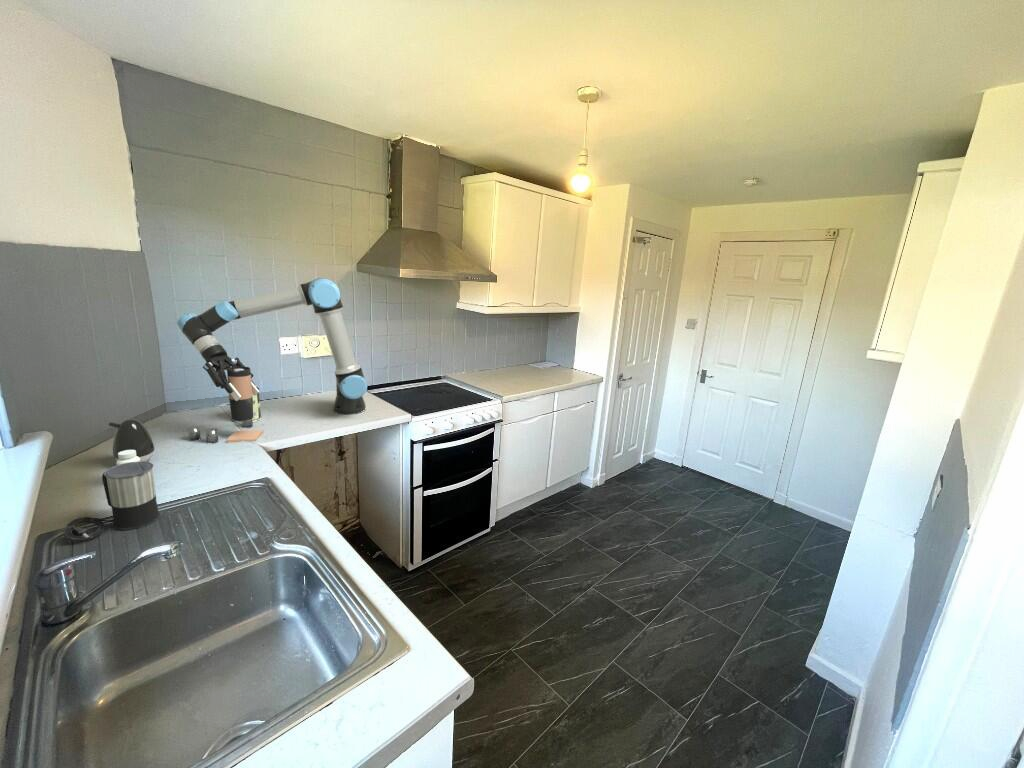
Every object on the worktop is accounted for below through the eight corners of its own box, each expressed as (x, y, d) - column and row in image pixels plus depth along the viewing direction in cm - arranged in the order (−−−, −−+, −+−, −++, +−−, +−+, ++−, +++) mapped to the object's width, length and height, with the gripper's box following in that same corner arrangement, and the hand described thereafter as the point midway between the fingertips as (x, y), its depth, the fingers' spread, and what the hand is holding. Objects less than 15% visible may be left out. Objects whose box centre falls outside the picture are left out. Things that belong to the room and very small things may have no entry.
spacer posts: (254, 424, 177) (253, 413, 176) (236, 442, 158) (235, 430, 157) (207, 425, 172) (205, 414, 171) (183, 444, 153) (181, 431, 152)
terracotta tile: (263, 432, 170) (263, 430, 169) (255, 441, 160) (255, 439, 160) (236, 433, 167) (235, 430, 167) (226, 442, 158) (226, 440, 157)
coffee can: (245, 414, 188) (242, 385, 185) (266, 417, 187) (264, 387, 184) (228, 421, 178) (225, 390, 175) (250, 424, 177) (247, 392, 174)
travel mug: (247, 413, 167) (243, 365, 162) (258, 418, 163) (254, 368, 158) (227, 418, 160) (222, 368, 155) (237, 422, 156) (233, 371, 152)
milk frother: (169, 512, 112) (162, 462, 108) (114, 548, 96) (104, 491, 93) (117, 508, 112) (109, 458, 108) (53, 544, 96) (41, 486, 93)
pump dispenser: (123, 457, 140) (116, 415, 136) (161, 455, 144) (155, 413, 140) (107, 470, 131) (99, 425, 127) (148, 467, 134) (141, 423, 131)
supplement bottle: (148, 478, 128) (143, 449, 126) (130, 486, 123) (125, 456, 120) (133, 476, 129) (128, 447, 126) (114, 484, 123) (109, 454, 121)
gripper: (229, 352, 169) (264, 395, 169) (179, 359, 150) (218, 408, 150) (239, 341, 167) (274, 384, 167) (189, 347, 148) (229, 396, 148)
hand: (248, 396), depth 158 cm, fingers closed on travel mug, 7 cm apart
